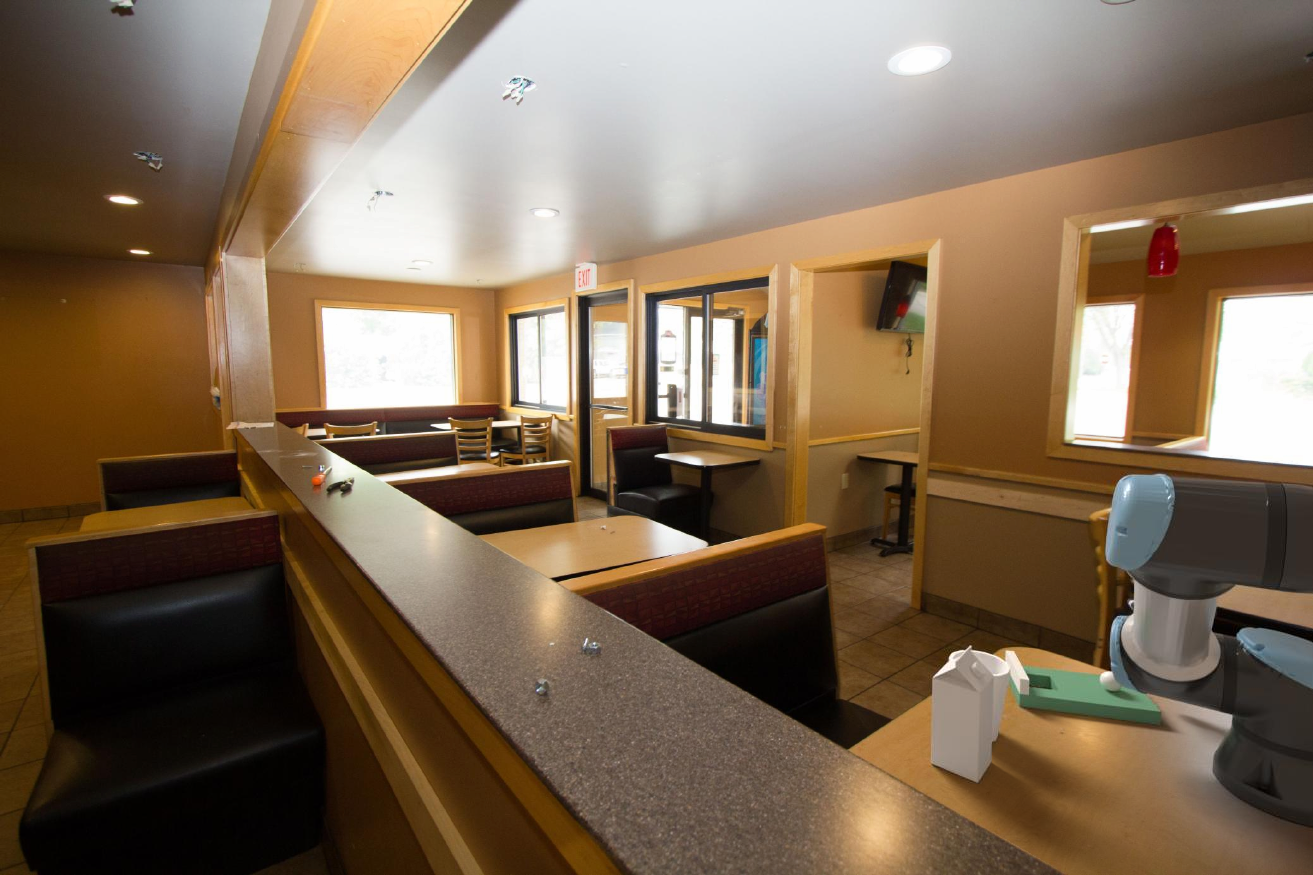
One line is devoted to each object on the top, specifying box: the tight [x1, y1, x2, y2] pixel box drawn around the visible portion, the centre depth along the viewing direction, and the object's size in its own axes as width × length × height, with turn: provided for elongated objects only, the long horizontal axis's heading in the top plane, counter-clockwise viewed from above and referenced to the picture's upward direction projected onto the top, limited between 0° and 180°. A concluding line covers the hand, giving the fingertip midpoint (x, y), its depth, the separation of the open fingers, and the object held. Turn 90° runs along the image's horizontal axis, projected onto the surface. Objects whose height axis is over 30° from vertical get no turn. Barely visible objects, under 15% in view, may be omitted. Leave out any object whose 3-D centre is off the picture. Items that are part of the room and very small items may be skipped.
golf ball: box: [1100, 671, 1122, 691], centre depth 113 cm, size 4×4×4 cm
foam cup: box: [948, 649, 1010, 743], centre depth 105 cm, size 10×9×13 cm
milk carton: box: [930, 645, 994, 784], centre depth 96 cm, size 7×7×19 cm
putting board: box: [1004, 650, 1162, 726], centre depth 115 cm, size 12×22×6 cm, turn 71°
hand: (1165, 690), depth 110 cm, fingers closed
